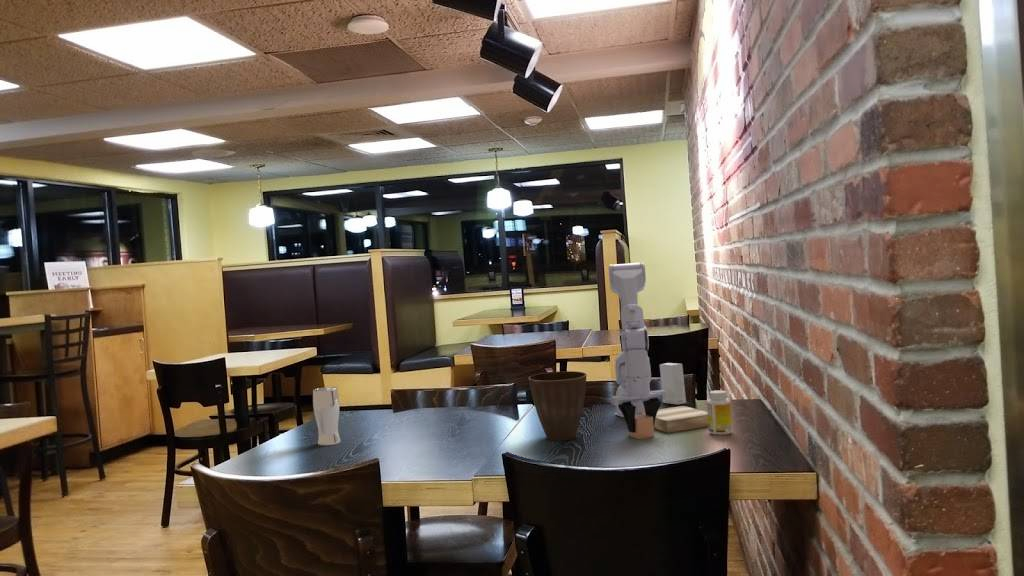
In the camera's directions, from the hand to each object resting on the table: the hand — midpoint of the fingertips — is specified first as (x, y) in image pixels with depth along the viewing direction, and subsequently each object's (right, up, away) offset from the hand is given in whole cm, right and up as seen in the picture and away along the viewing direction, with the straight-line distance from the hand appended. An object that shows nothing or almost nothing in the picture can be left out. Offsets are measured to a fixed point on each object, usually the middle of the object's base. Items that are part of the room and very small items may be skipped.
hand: (641, 430), depth 178 cm
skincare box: (+17, 0, +40) cm, 44 cm away
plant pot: (-20, -3, +5) cm, 20 cm away
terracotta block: (0, -2, 0) cm, 2 cm away
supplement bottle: (+19, 0, -3) cm, 19 cm away
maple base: (+11, -1, +10) cm, 15 cm away
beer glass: (-83, -7, +18) cm, 85 cm away
